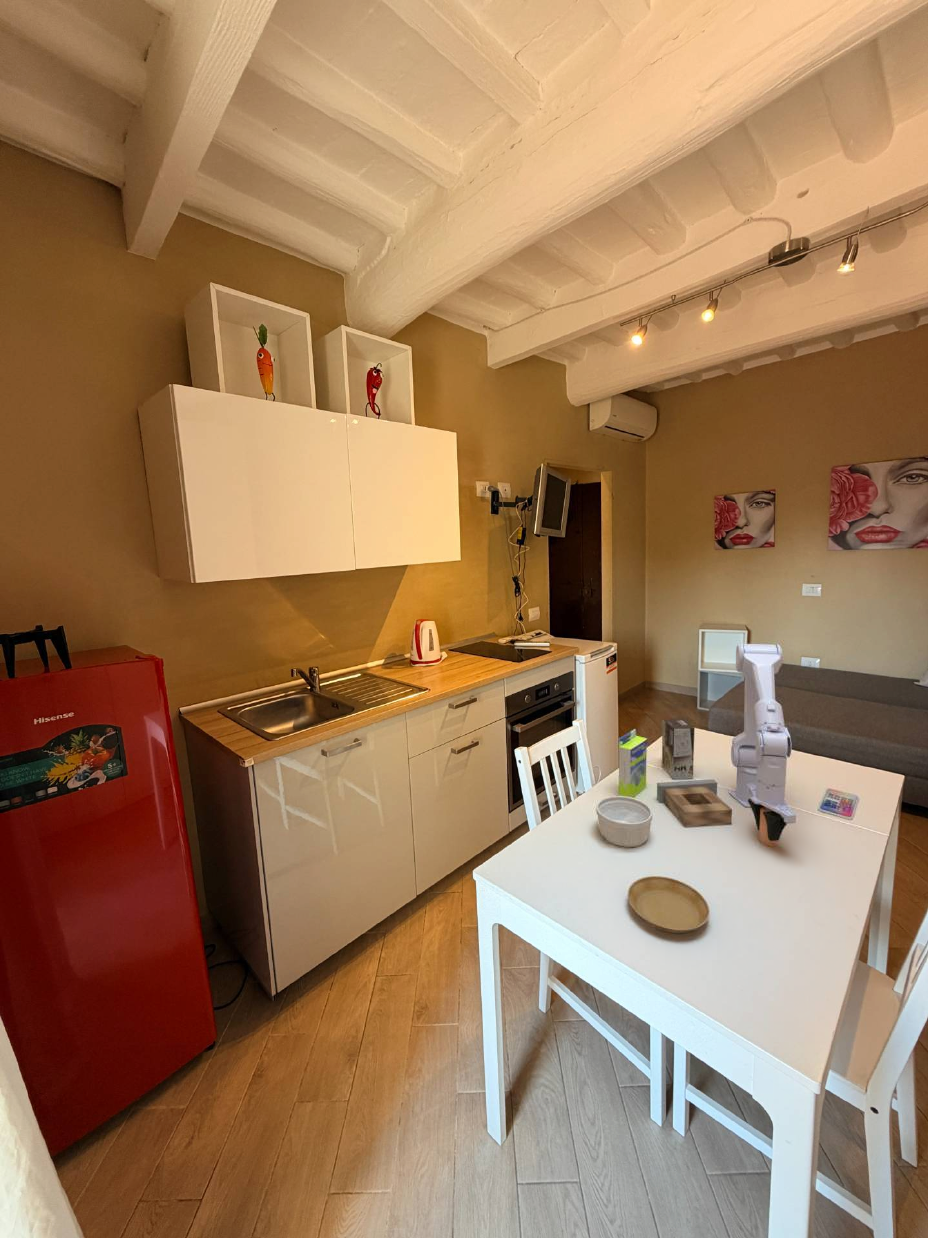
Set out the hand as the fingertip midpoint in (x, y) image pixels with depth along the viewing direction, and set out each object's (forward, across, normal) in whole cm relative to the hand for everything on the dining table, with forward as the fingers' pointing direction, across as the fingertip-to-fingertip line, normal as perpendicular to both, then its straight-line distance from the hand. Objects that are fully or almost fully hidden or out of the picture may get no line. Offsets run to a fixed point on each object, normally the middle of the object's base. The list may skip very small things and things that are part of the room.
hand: (767, 834), depth 116 cm
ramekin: (+2, -7, -32) cm, 33 cm away
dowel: (+2, 0, 0) cm, 2 cm away
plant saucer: (+2, +19, -33) cm, 38 cm away
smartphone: (+3, -14, +29) cm, 32 cm away
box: (+2, -27, -22) cm, 35 cm away
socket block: (+2, -14, -10) cm, 17 cm away
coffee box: (+2, -37, -4) cm, 37 cm away
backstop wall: (+2, -21, -9) cm, 23 cm away
